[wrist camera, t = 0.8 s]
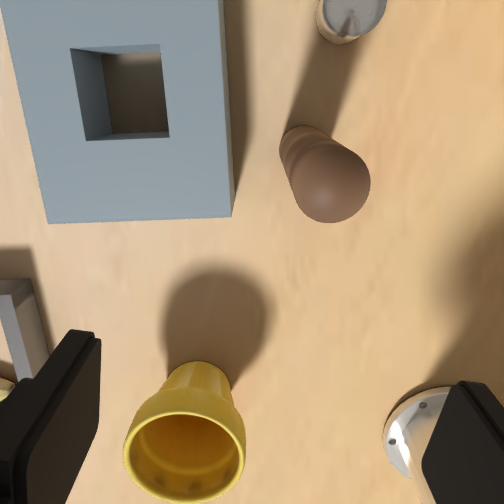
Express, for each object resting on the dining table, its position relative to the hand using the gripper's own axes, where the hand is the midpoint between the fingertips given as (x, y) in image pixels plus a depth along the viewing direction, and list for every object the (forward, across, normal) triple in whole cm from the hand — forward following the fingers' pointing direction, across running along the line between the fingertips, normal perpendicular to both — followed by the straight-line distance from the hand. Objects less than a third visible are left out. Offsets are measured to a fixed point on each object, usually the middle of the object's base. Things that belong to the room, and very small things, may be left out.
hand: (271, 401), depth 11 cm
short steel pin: (+28, -4, -14) cm, 31 cm away
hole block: (+28, +10, -5) cm, 30 cm away
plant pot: (+28, +3, +23) cm, 36 cm away
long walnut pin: (+28, -3, -3) cm, 28 cm away
